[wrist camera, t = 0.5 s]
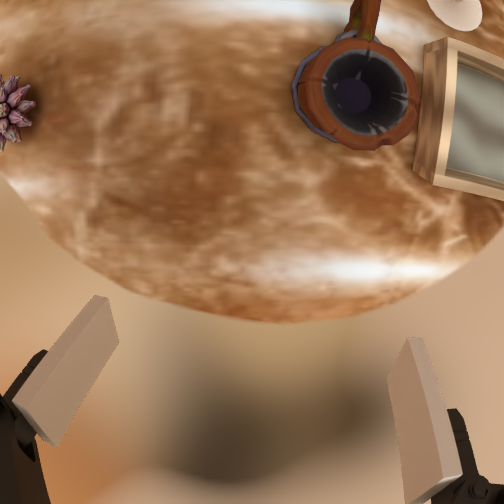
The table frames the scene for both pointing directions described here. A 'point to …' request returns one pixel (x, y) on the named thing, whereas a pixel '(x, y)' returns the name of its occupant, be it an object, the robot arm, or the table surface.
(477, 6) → the wineglass
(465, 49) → the square tray
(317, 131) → the brown pitcher
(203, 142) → the table surface
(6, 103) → the flower
